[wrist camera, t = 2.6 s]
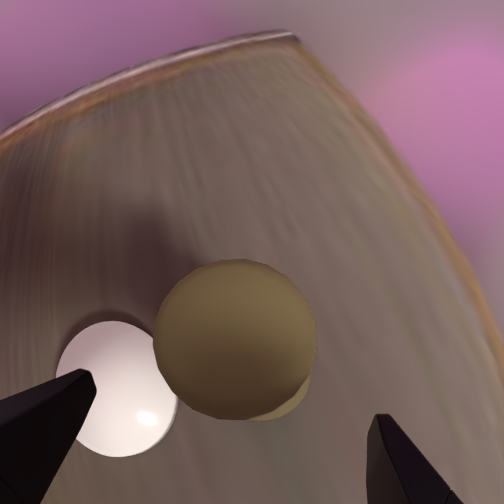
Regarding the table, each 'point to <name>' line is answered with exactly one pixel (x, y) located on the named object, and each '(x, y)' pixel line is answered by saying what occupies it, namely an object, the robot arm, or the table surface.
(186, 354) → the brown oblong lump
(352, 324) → the table surface
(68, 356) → the coaster
